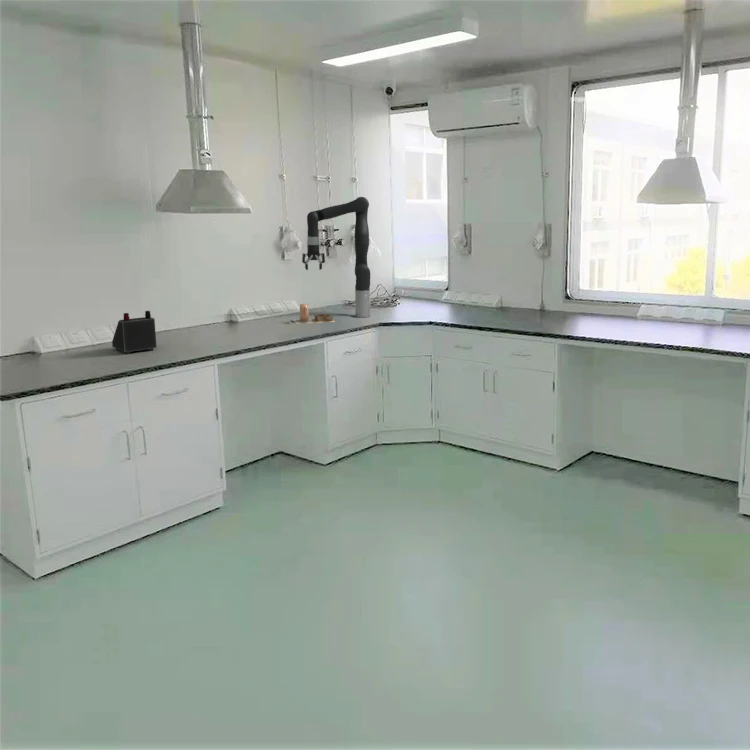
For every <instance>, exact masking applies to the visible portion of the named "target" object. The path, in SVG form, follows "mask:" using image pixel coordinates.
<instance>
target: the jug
mask: <svg viewBox="0 0 750 750" xmlns="http://www.w3.org/2000/svg"><path fill="white" fill-rule="evenodd" d="M309 314H310V313H309V303H300V304H299V319H300V321H309V319H310V318H309V317H310V316H309Z"/></svg>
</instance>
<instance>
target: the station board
mask: <svg viewBox="0 0 750 750" xmlns="http://www.w3.org/2000/svg"><path fill="white" fill-rule="evenodd" d="M292 321H294V323H295V324H297V325H298V324H317V323H319V324H320V323H322V324H323V323H336V321H335V320H334V319H333V316H332V315H331V314H329V313H324V314H323V313H322V314H314V317H313V318H309V321H300V318H299V319H293V320H292Z"/></svg>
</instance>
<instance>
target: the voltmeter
mask: <svg viewBox="0 0 750 750" xmlns="http://www.w3.org/2000/svg"><path fill="white" fill-rule="evenodd" d="M151 316H152V315H151V310H145V314H144V317H137V318H136V317H135V318H130V315H129V312H124V313H123V319H120V320H118V321H117V325H116V328H115V331H114V335H113V338H112V341H111V347H112V348H114V349H115V350H116V351H121V352H124V353H125V354H126V355H130V354H131V352H135V351H144V350H148V351H149V352H152V351H154V349H157V346H158V345H157V334H156V321H155V318H154V317H151Z"/></svg>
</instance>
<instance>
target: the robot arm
mask: <svg viewBox="0 0 750 750" xmlns="http://www.w3.org/2000/svg"><path fill="white" fill-rule="evenodd" d="M369 206H370V203H369V200H368V199H367V198H366V197H365V196H358V197H357V198H355V199H354V200H351V201H348V202H345V203H342V204H337V205H333V206H328V207H324V208H322V209H319V210H318V209H317V210H313V211H310V212H308V213H307V215H306V220H307V221H306V223H307V224H306V225H307V241H306V245H307V247H306V248H307V252H306V253H302V258H301V262H302V264H304V268H305V270H306V271H308V270H309V262H311V261H317V262H318V263H319V264H318V269H319V270H322V269H323V264H325V263H326V260H325V258H326V257H325V253H323V252H321V253H320V234H319V233H320V229H319V222H322V221H325V220H331V219H334V218H337V217H340V216H343V215H347V214H351V213H354V214H355V224H354V252H355V261H354V262H355V264H354V276H355V285H354V286H355V287H354V288H355V289H354V290H355V291H354V293H355V294H354V296H355V297H354V305H355V306H354V307H355V309H354V311H355V312H354V313H355V314H354V315H355V316H354V317H355V318H356V317H357V318H371V301H370V294H371V293H370V286H371V270H370V268H369V267H368V252H369V247H370V246H369V245H370V233H369V223H368V213H369V212H368V211H369ZM306 257H307V259H306ZM320 257H321V258H320Z"/></svg>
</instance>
